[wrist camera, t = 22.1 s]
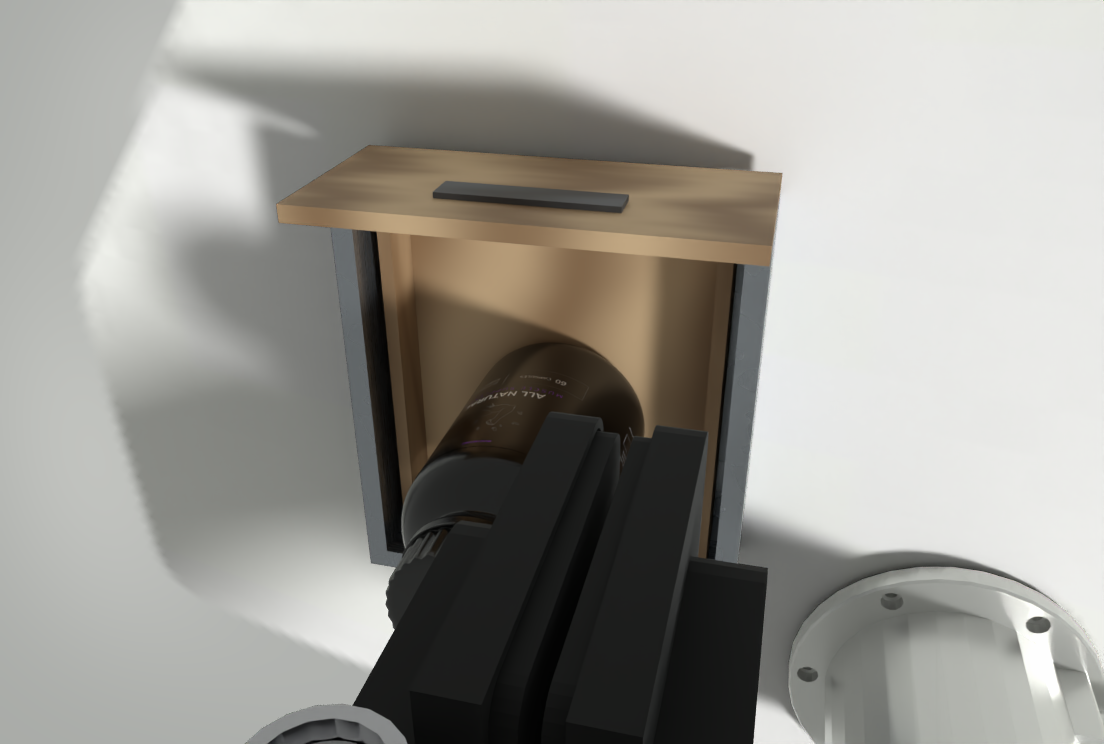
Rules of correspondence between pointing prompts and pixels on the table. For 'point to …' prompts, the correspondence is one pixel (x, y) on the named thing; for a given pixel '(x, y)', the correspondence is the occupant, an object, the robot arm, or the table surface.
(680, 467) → the robot arm
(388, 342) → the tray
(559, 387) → the supplement bottle
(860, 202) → the table surface
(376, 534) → the housing
